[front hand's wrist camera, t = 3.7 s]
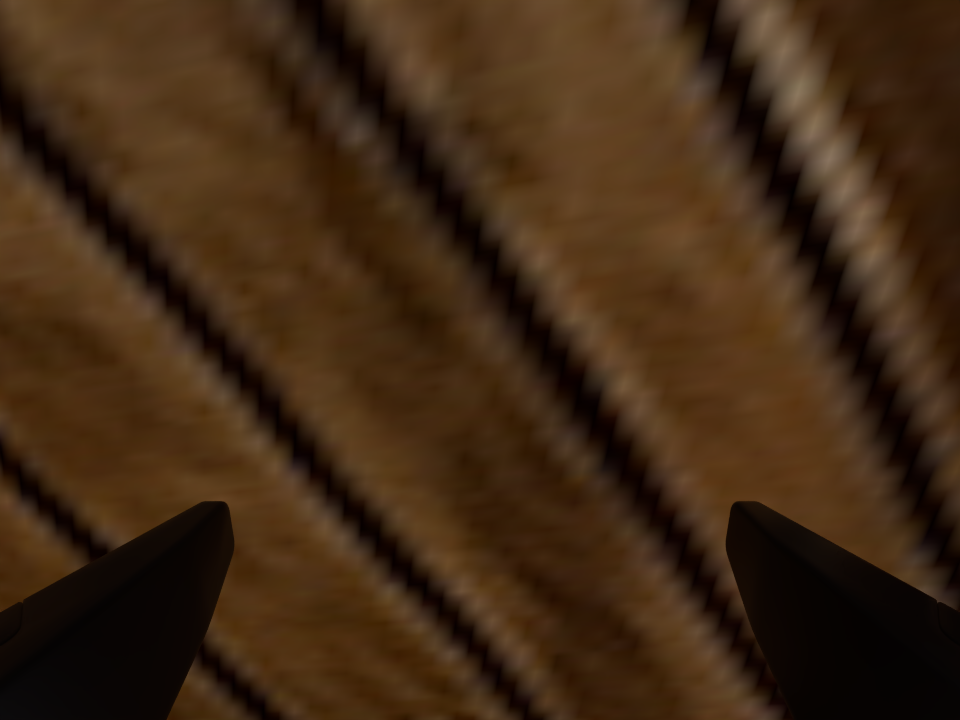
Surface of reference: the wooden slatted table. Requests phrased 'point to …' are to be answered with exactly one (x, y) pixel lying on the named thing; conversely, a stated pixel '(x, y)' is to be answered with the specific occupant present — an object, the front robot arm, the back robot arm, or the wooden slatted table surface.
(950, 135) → the wooden slatted table surface
